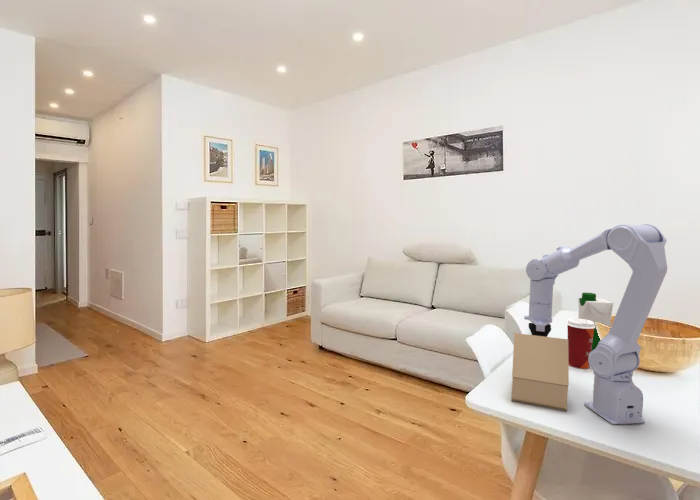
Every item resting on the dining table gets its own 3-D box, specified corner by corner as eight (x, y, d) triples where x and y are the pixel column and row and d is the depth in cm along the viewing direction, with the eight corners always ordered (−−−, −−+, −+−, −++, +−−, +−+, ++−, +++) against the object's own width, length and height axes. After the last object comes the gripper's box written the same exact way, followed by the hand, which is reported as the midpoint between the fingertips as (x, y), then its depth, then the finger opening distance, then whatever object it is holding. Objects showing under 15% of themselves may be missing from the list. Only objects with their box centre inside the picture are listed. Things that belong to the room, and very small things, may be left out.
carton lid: (514, 333, 101) (514, 333, 101) (568, 340, 96) (568, 339, 96) (512, 377, 96) (512, 376, 96) (568, 386, 91) (568, 385, 91)
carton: (513, 383, 107) (514, 362, 106) (563, 392, 102) (564, 369, 101) (511, 400, 97) (512, 377, 96) (566, 411, 92) (567, 386, 91)
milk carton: (573, 346, 137) (576, 290, 136) (600, 348, 136) (604, 291, 134) (583, 355, 129) (587, 296, 127) (613, 357, 127) (617, 297, 125)
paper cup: (597, 371, 116) (600, 325, 114) (569, 369, 117) (571, 323, 116) (587, 361, 123) (589, 318, 122) (560, 359, 125) (562, 317, 124)
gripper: (525, 296, 116) (523, 340, 117) (524, 306, 103) (522, 356, 104) (551, 298, 113) (549, 343, 114) (554, 308, 100) (552, 360, 101)
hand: (538, 349), depth 109 cm, fingers closed
